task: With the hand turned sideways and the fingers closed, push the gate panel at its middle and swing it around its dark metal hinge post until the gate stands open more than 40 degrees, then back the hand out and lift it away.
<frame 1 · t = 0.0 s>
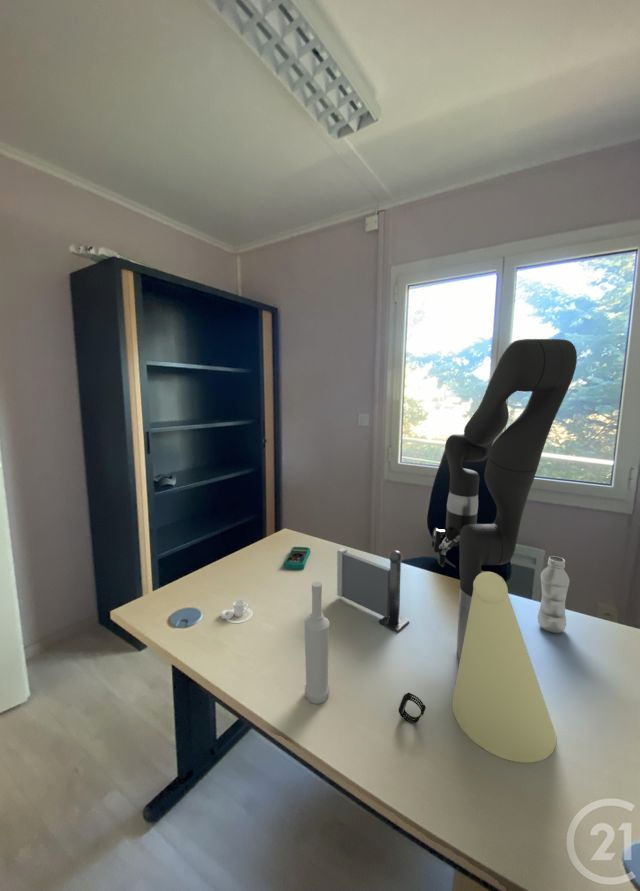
hand: (457, 565, 100), 17 cm above the table, tool pointing down, fingers open, 8 cm apart
cone light: (496, 728, 70), on the table
bottle: (317, 695, 78), on the table
plastic bottle: (550, 629, 100), on the table
smartwatch: (410, 722, 72), on the table
gate post: (394, 623, 103), on the table
digital multimeter: (297, 561, 143), on the table
gate: (363, 581, 109), point 9 cm above the table, hinge at 0.0°
teacup and saucer: (233, 612, 109), on the table
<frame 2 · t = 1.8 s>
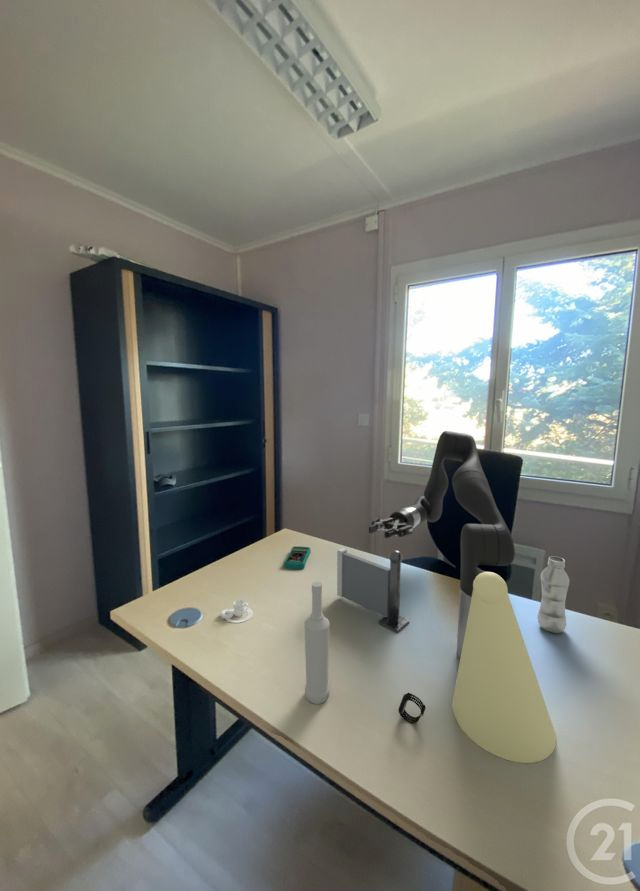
hand: (377, 532, 116), 20 cm above the table, tool horizontal, fingers open, 5 cm apart
nothing on the table moved.
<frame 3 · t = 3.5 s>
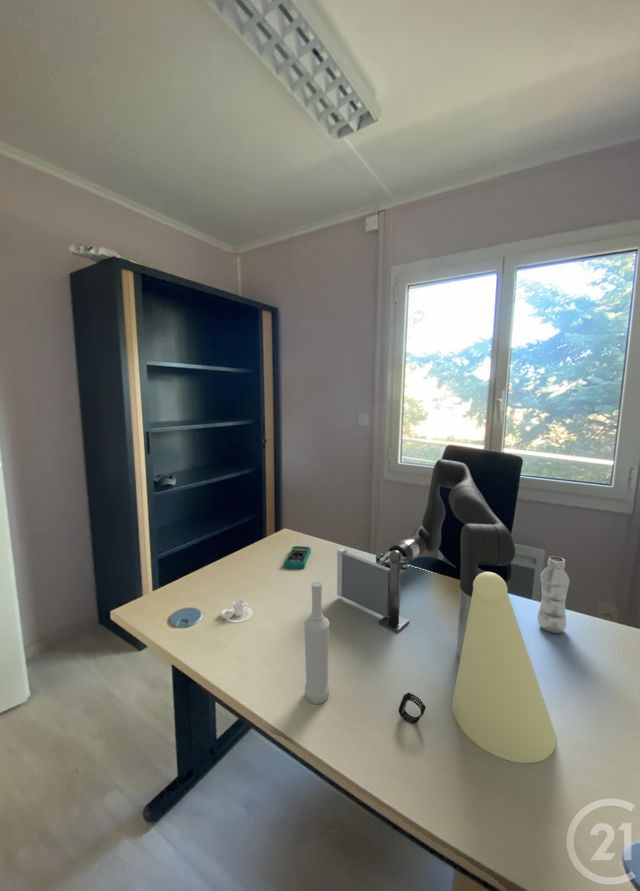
hand: (376, 568, 118), 8 cm above the table, tool horizontal, fingers closed
nothing on the table moved.
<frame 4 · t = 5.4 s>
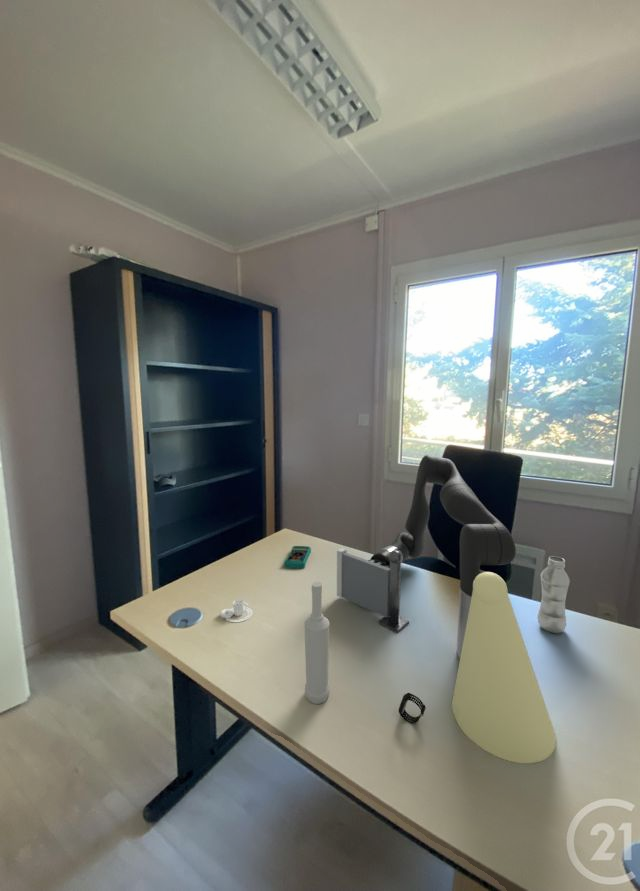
hand: (358, 579, 111), 8 cm above the table, tool horizontal, fingers closed
gate: (362, 581, 109), point 9 cm above the table, hinge at 0.6°, touching gripper
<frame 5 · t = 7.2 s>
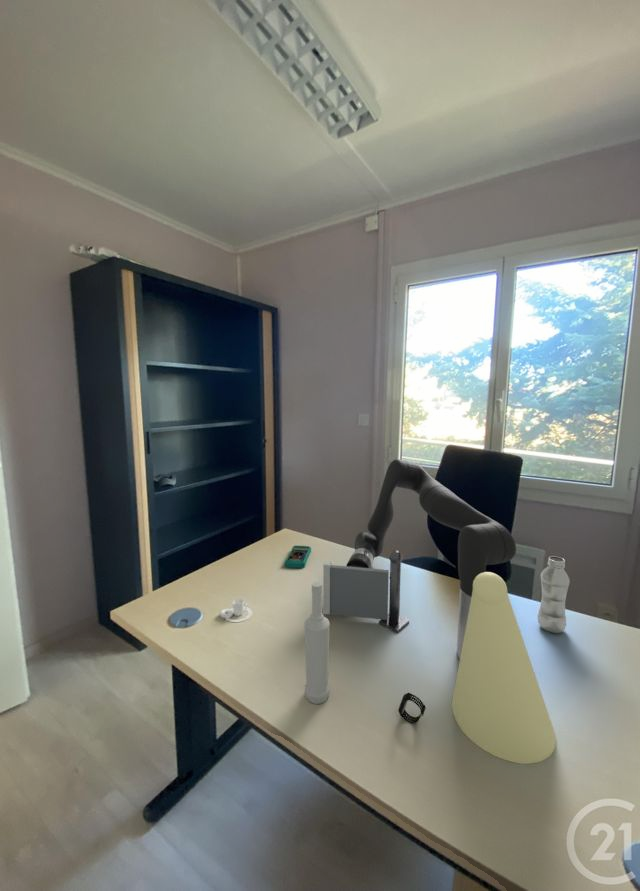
hand: (348, 590, 105), 8 cm above the table, tool horizontal, fingers closed
gate: (355, 590, 104), point 9 cm above the table, hinge at 31.6°, touching gripper
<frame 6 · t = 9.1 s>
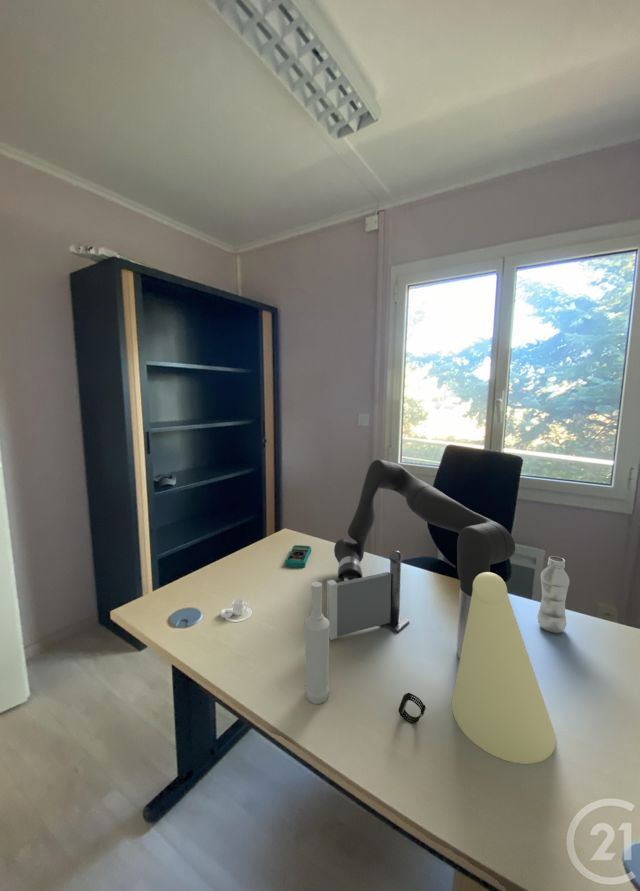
hand: (351, 604, 98), 8 cm above the table, tool horizontal, fingers closed
gate: (360, 602, 98), point 9 cm above the table, hinge at 65.2°, touching gripper
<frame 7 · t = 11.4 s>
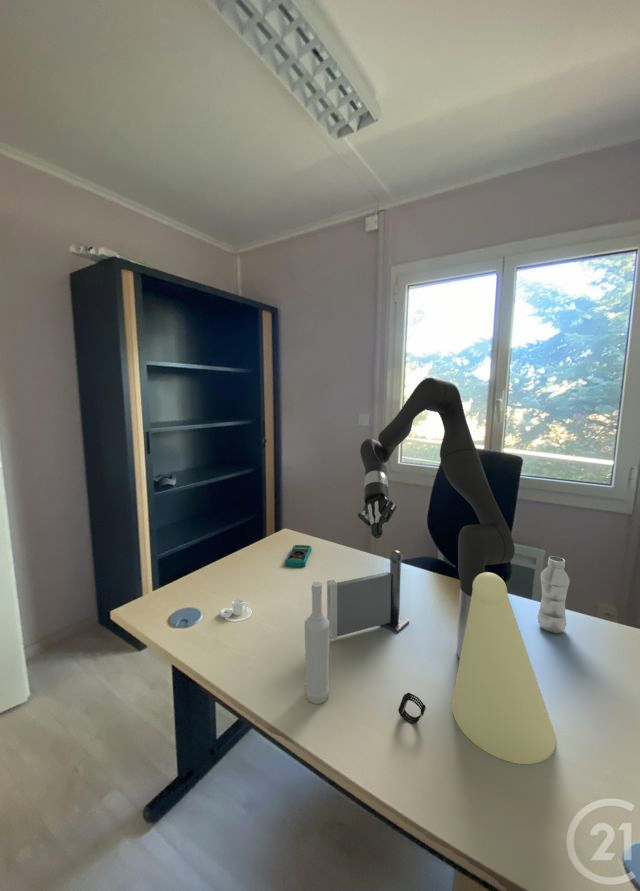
hand: (377, 536, 104), 24 cm above the table, tool tilted 55°, fingers closed
gate: (360, 602, 98), point 9 cm above the table, hinge at 65.3°
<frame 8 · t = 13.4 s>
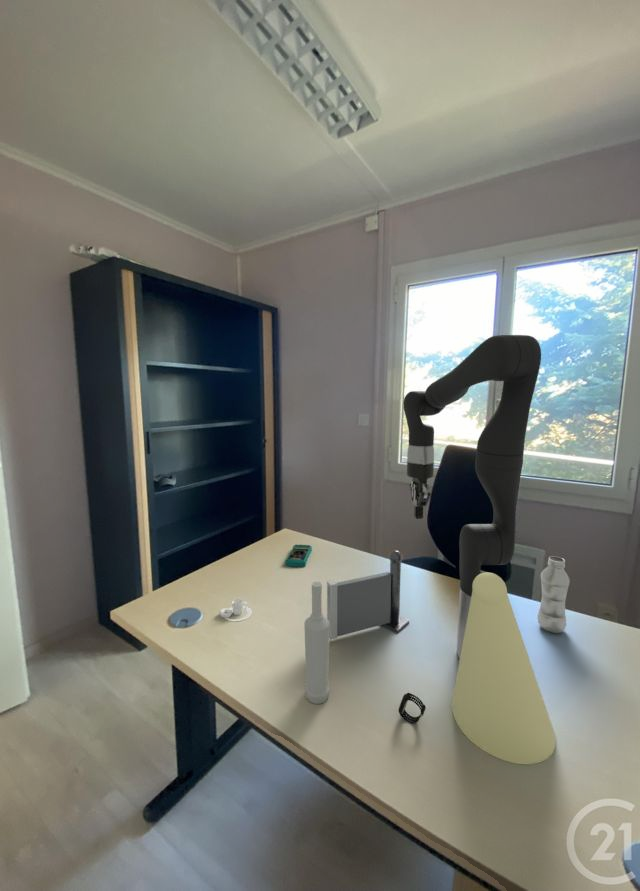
hand: (418, 517, 109), 27 cm above the table, tool pointing down, fingers closed
at the end: gate at +65° (first picture: +0°); the gripper is holding nothing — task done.
